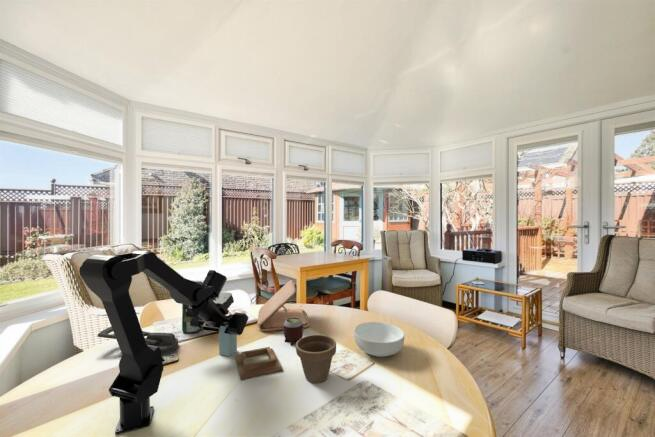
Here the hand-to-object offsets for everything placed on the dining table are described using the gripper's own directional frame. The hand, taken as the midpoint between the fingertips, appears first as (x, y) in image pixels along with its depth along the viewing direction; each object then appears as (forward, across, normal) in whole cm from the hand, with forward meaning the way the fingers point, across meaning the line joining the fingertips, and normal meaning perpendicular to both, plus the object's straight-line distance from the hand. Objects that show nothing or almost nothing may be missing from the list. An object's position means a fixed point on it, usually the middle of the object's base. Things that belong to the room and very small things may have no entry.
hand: (230, 331), depth 100 cm
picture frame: (+2, -13, +8) cm, 15 cm away
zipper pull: (-1, +31, +11) cm, 33 cm away
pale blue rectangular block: (+4, 0, +6) cm, 7 cm away
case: (+26, -5, -16) cm, 31 cm away
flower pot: (+1, -33, +9) cm, 34 cm away
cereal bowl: (+16, -48, -6) cm, 51 cm away
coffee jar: (+13, +25, -3) cm, 29 cm away
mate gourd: (+14, -17, -4) cm, 22 cm away
